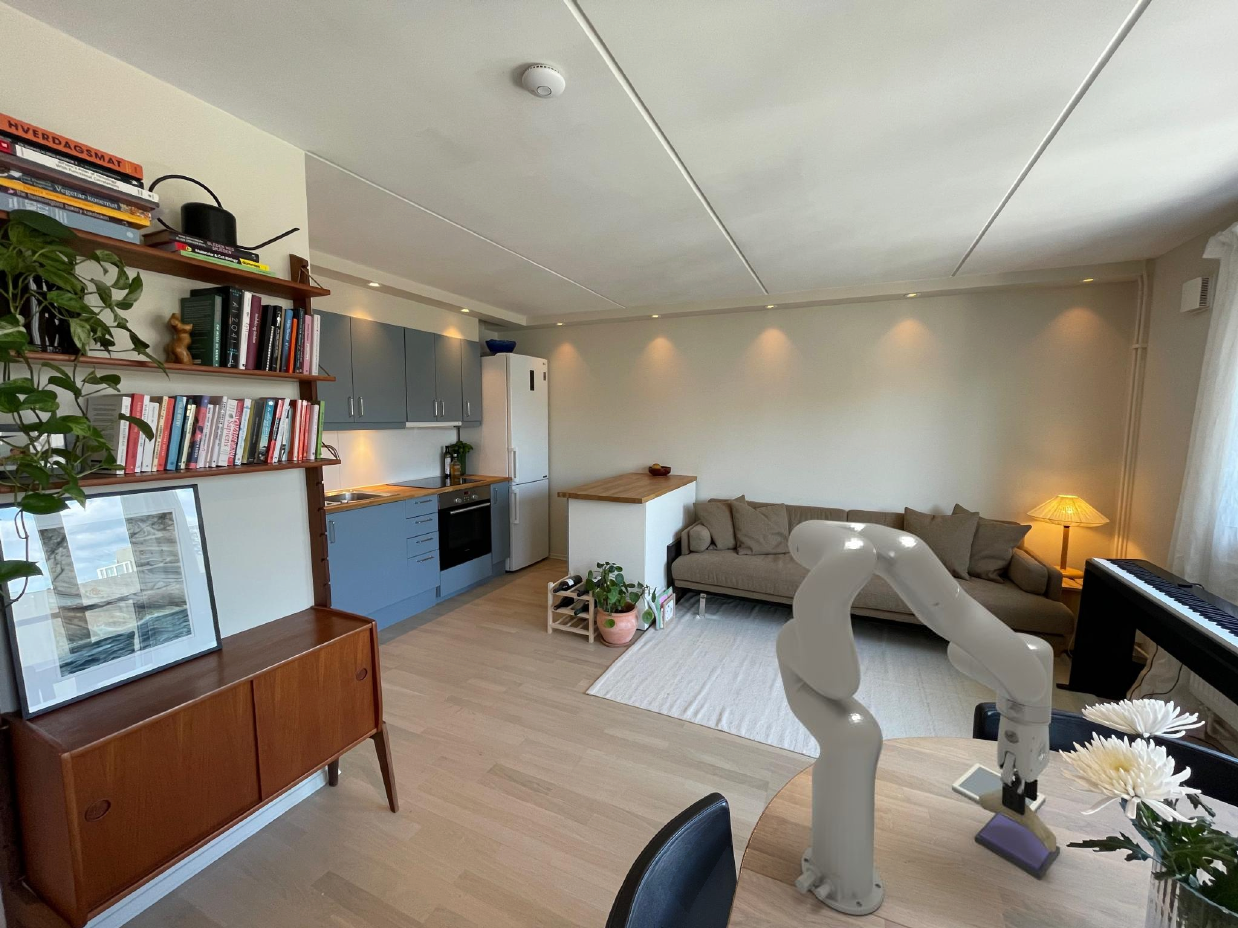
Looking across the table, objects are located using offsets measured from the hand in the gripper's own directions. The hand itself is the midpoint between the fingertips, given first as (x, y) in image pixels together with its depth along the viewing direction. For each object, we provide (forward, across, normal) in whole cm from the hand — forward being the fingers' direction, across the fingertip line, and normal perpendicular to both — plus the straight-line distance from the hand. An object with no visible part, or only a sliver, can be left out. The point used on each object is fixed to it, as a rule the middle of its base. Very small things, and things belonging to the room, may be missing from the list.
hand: (1019, 801), depth 88 cm
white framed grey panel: (+9, +12, +7) cm, 16 cm away
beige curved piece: (+4, -2, 0) cm, 4 cm away
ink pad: (+9, 0, 0) cm, 9 cm away
